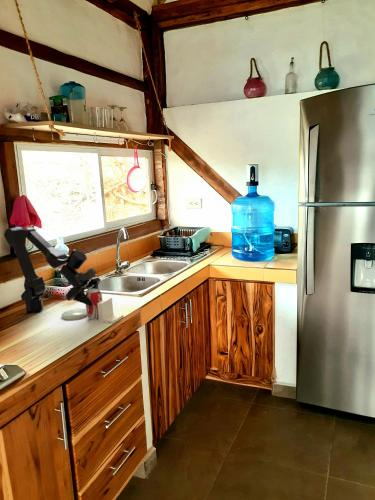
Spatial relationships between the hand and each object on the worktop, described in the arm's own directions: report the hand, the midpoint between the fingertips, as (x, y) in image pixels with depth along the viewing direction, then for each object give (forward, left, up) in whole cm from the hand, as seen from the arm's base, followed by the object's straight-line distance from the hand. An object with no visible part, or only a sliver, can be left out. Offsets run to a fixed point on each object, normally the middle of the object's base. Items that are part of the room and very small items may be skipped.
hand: (96, 302), depth 172 cm
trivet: (-10, +6, -7) cm, 13 cm away
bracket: (+6, -3, -7) cm, 9 cm away
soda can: (-1, +1, -7) cm, 7 cm away
